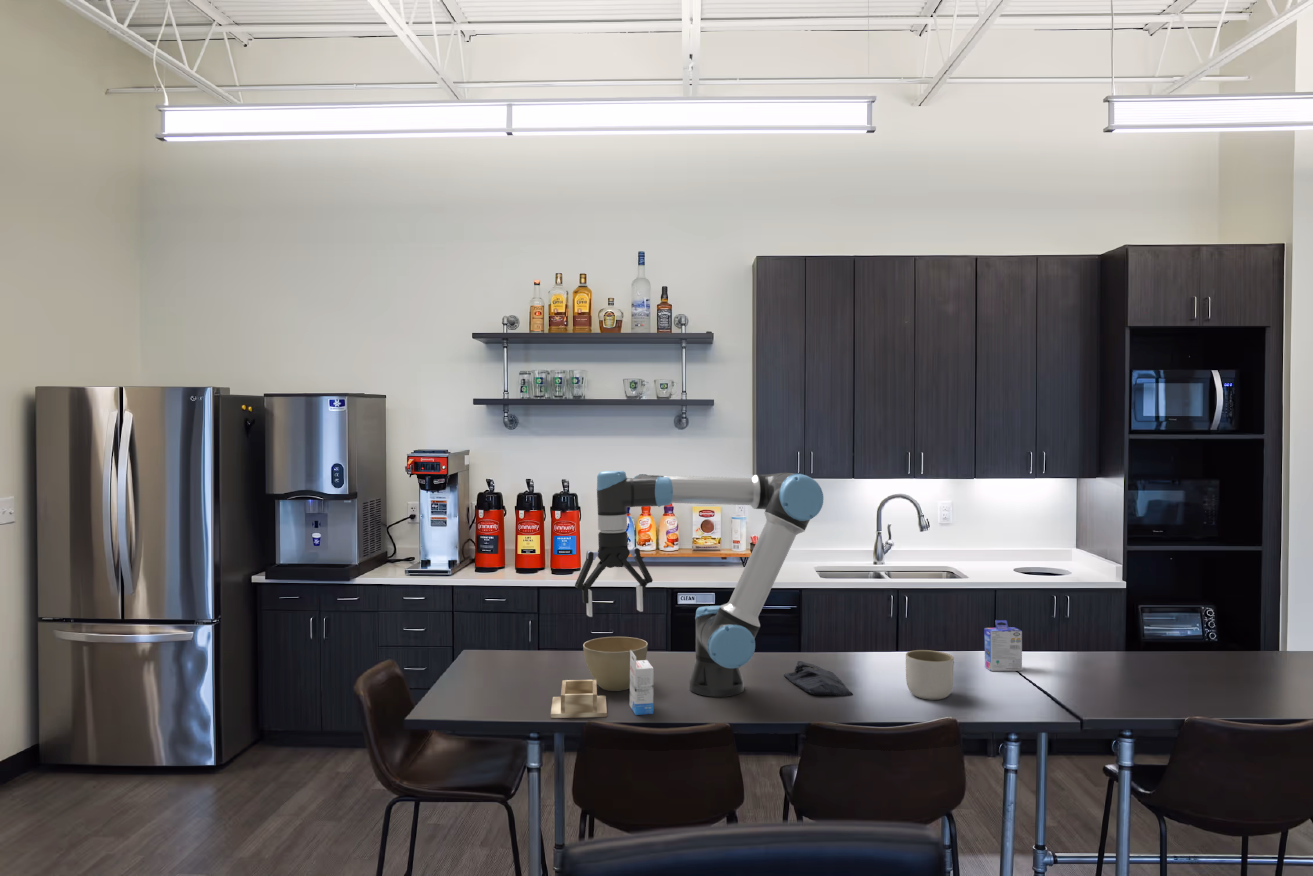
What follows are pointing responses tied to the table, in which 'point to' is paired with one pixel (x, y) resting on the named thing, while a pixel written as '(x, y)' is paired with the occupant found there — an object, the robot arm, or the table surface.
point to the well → (578, 700)
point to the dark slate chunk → (817, 680)
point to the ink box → (641, 686)
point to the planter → (929, 674)
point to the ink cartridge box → (1003, 648)
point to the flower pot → (613, 660)
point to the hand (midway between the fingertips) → (615, 613)
